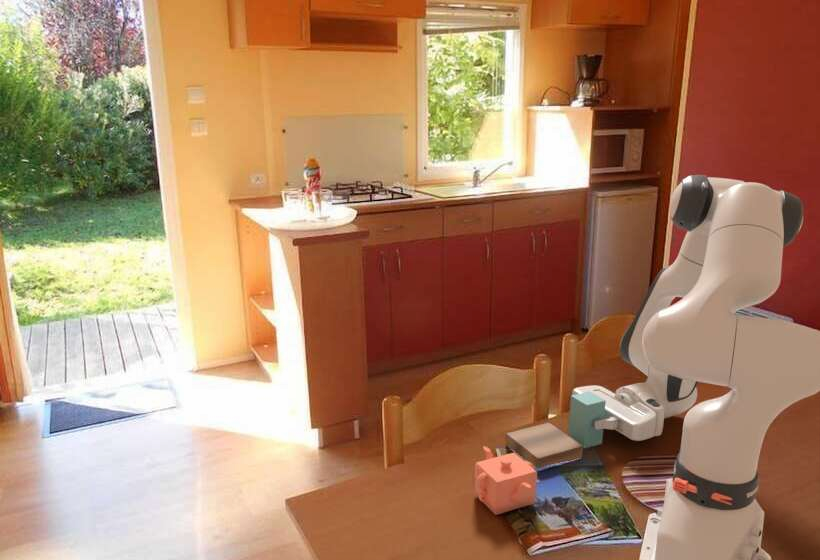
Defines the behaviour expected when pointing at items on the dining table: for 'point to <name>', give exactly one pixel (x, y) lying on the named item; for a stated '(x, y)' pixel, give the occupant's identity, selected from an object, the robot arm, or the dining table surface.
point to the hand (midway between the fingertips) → (583, 418)
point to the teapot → (505, 482)
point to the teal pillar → (586, 418)
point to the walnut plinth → (543, 445)
